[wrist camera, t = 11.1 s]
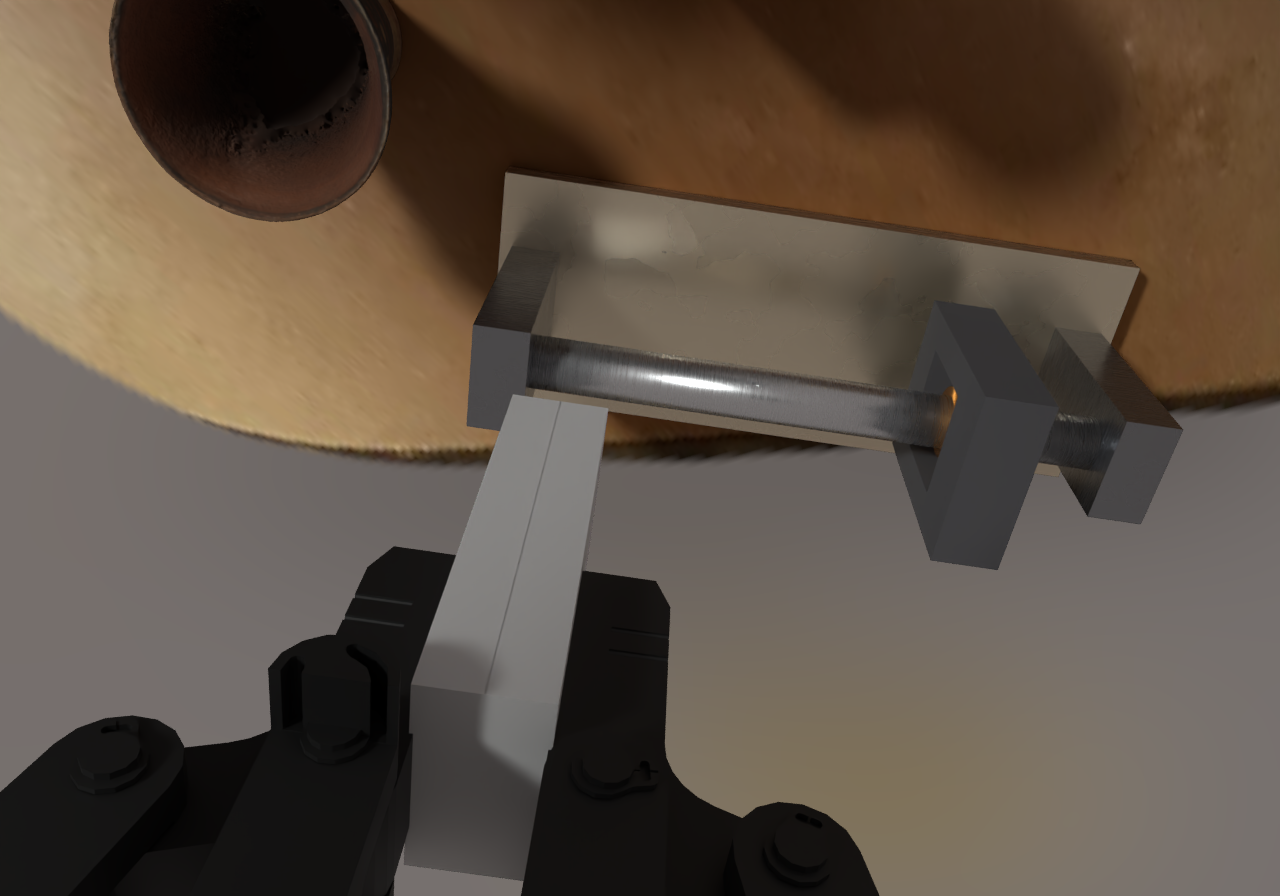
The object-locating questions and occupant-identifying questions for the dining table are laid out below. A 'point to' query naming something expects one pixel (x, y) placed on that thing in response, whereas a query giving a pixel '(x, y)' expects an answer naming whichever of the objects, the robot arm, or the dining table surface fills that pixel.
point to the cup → (259, 96)
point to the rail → (799, 326)
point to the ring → (975, 436)
